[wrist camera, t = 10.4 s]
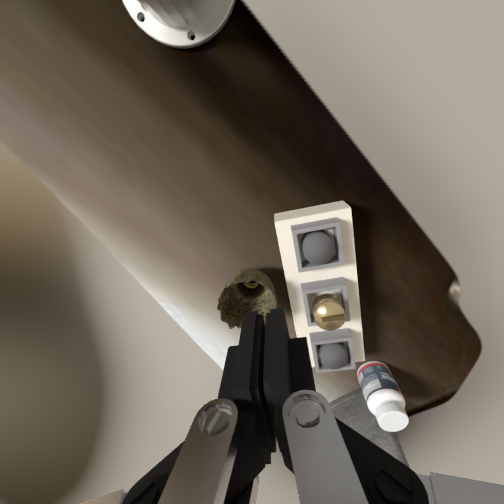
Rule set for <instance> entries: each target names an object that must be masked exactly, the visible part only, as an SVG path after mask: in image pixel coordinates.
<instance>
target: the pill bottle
mask: <svg viewBox="0 0 504 504" xmlns="http://www.w3.org/2000/svg"><path fill="white" fill-rule="evenodd" d="M357 377H358V380H359V383H360V386H361V389H362V392H363V395H364V397H365V400H366V403H367V406H368V408H369V410H370V411H371V413H372V414H374V415H375V416H376V419H377V421H378V424H379V426H380V427H381V428H382V429H383V430H385V431H389V432H396V431H399V430H402V429H404V428H405V427H406V426H407V425H408V423H409V419H408V416H407V414H406V411H405V410H404V408H405V400H404V397H403V395H402V393H401V391H400V389H399V387H398V385H397V383H396V381H395V379H394V377H393V375H392V373H391V371H390V369H389V368H388V366H387V365H386V364H384V363H382V362H379V361H369V362H366V363H364V364H363V365H361V366H360V368H359V369H358V371H357Z"/></svg>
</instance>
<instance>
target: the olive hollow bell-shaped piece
mask: <svg viewBox="0 0 504 504" xmlns="http://www.w3.org/2000/svg"><path fill="white" fill-rule="evenodd" d="M250 281H256V283H254V284H251V283H249V282H250ZM218 302H219V304H218V307H217V309H218V310H220V318H221V320H222V321H223V322H226V323H228V327H229V328H230V329H232V328H234V327H235V326H237V327H238V328H240V327H241V328H242V322H243V316H244V313H248V312H254V311H257V312H258V314H263V317H264V321H265V322H266V313H270V309H275V308H278V306H277V305H278V302H277V298H276V294H275V290H274V287H273V284H272V282H271V280H270V279H269V277H268V276H267V275H266V274H264V273H263V272H261V271H259V270H256V269H244V270H241V271H239V272H237V273H236V274H234V275H233V276H232V277H231V278H230V280H229V281H228V283H227V284H226V286H225V288H224V289H223V291H222V293H221V294H220V296H219V299H218Z"/></svg>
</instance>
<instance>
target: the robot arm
mask: <svg viewBox="0 0 504 504" xmlns="http://www.w3.org/2000/svg"><path fill="white" fill-rule="evenodd" d="M122 1H123V4H124V5H125V7H126V9H127V11H128V12H129V14H130V16H131V17H132V19H133V20H134V21H135V22H136V24H137V25H138V26H139V27H140V28H141V29H142V30H143V31H144V32H145V33H146V34H148V35H149V36H150V37H152V38H153V39H154V40H156V41H157V42H159V43H162V44H164V45H166V46H169V47H173V48H187V49H188V48H192V47H197V46H199V45H202V44H204V43H206V42H208V41H209V40H210V39H212V38H213V37H214V36H215V35H217V34H218V32H219V31H220V30H221V29H222V28H223V26H224V25H225V24H226V22H227V20H228V18H229V17H230V15H231V13H232V10H233V8H234V5H235V2H236V0H122ZM143 18H145V20H144V22H143ZM192 36H195V39H194V40H192V39H191V38H192ZM276 438H277V442H278V445H279V449H280V452H282V456H283V460H284V463H285V466H286V467H287V468H288V469H290V471H291V472H292V473H293V474H294V475H295V479H296V484H297V489H298V494H299V499H300V504H504V485H500V484H494V483H489V482H483V481H478V480H472V479H467V478H461V477H455V476H450V475H444V474H439V473H433V472H430V476H426V475H421V474H416V473H415V472H414V471H412V470H411V469H410V468H409V467H408V466H406V465H405V464H404V463H402V462H401V461H399V460H398V459H396V458H395V457H393V456H392V455H390V454H389V453H387V452H386V451H384V450H383V449H381V448H380V447H379V446H377V445H376V444H374V443H373V442H371V441H370V440H368V439H367V438H365V437H364V436H362V435H361V434H359V433H358V432H356V431H355V430H354V429H352V428H351V427H349V426H348V425H346V424H345V423H343V422H342V421H340V420H339V419H337V418H336V417H334V415H333V412H332V409H331V407H330V404H329V403H328V401H327V399H326V398H325V397H324V396H323V395H321V394H320V393H318V392H316V389H315V383H314V378H313V372H312V366H311V360H310V354H309V349H308V343H307V338H306V337H300V338H292V339H290V337H289V332H288V327H287V322H286V318H285V313H284V308H283V307H282V308H275V309H270V313H266V322H265V321H264V317H263V314H258V312H257V311H254V312H248V313H244V316H243V322H242V328H241V334H240V340H239V345H238V346H230V347H229V348H228V352H227V357H226V361H225V366H224V371H223V376H222V380H221V385H220V390H219V394H218V399H215V400H212V401H210V402H208V403H207V404H205V405H204V406H203V407H202V408H201V409H200V410H199V411H198V413H197V414H196V416H195V418H194V421H193V423H192V425H191V427H190V430H189V432H188V434H187V437H186V439H185V441H184V442H182V443H181V444H180V445H179V446H178V447H177V448H176V449H174V450H173V451H172V452H171V453H170V454H169V455H167V456H166V457H165V458H164V459H163V460H162V461H161V462H159V463H158V464H157V465H156V466H155V467H154V468H153V469H151V470H150V471H149V472H148V473H147V474H146V475H145V476H143V477H142V478H141V479H140V480H139V481H138V482H137V483H136V484H135V485H134V486H133V487H132V488H131V489H130V490H129V492H126V493H125V491H124V490H123V489H122V490H119V491H116V492H113V493H110V494H107V495H104V496H101V497H98V498H95V499H92V500H89V501H86V502H83V503H80V504H255V502H256V497H257V491H258V484H259V476H258V474H259V473H260V472H261V471H262V470H263V468H265V464H271V453H272V452H276Z"/></svg>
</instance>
